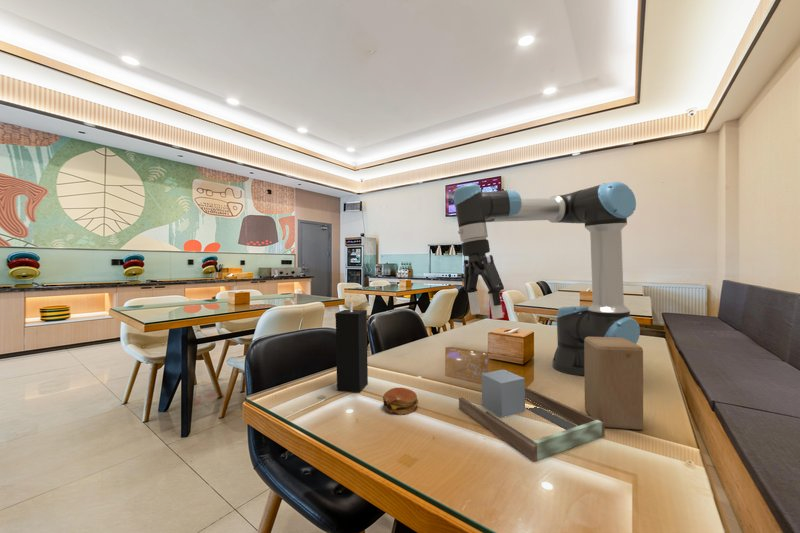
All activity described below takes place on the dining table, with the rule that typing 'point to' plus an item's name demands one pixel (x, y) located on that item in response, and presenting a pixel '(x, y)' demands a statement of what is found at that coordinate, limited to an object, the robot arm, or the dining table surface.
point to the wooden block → (614, 381)
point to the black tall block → (351, 349)
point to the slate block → (503, 392)
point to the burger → (400, 401)
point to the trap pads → (546, 415)
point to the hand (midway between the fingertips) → (486, 316)
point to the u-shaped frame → (546, 445)
